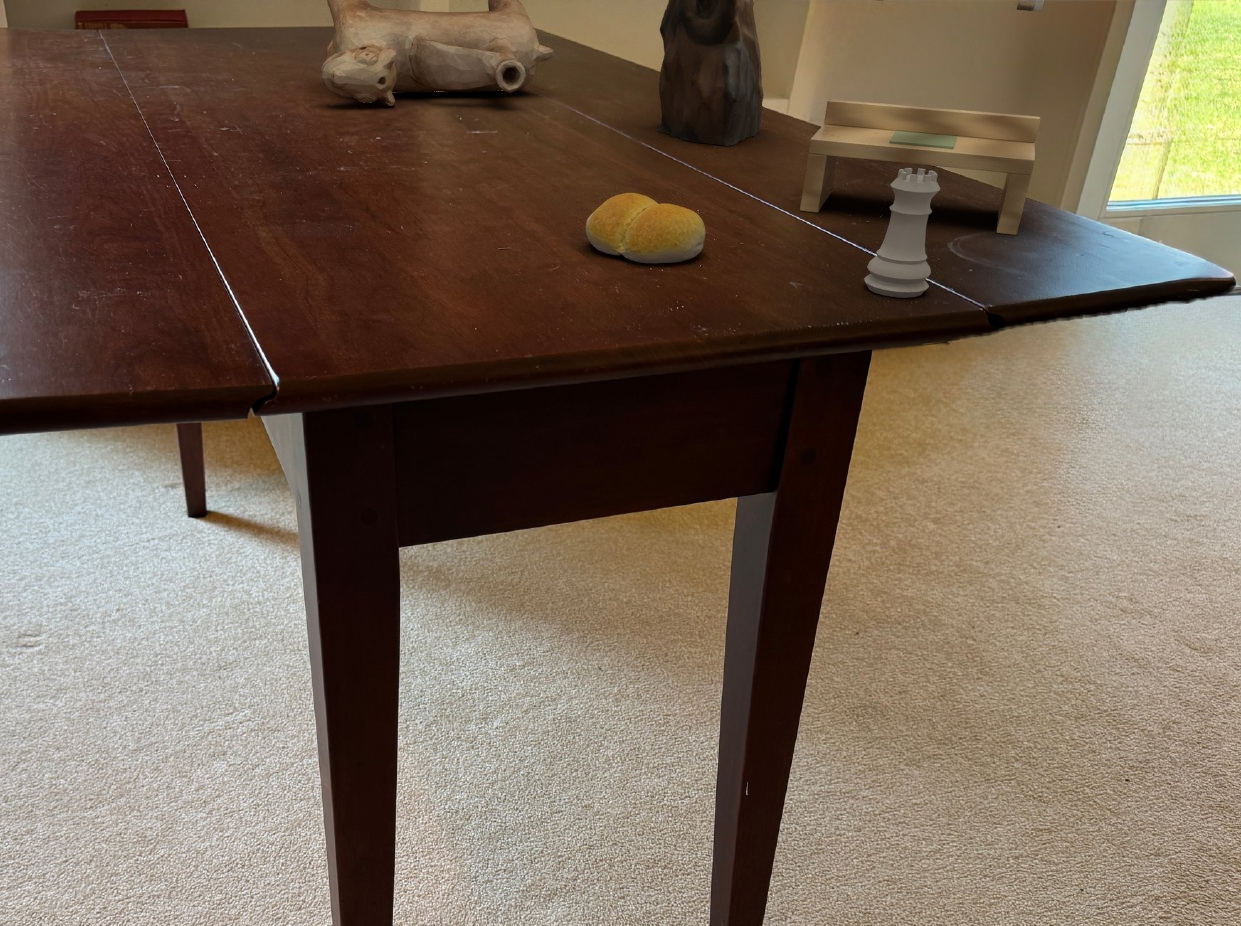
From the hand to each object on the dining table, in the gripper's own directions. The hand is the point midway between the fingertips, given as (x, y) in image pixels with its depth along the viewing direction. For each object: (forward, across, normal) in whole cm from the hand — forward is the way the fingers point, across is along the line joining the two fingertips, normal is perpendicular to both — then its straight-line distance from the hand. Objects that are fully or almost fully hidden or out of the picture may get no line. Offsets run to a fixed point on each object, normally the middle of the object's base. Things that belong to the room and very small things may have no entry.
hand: (948, 5), depth 71 cm
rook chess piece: (+18, 0, 0) cm, 18 cm away
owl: (+18, +25, -53) cm, 61 cm away
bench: (+18, +1, -25) cm, 31 cm away
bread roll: (+18, +19, -2) cm, 26 cm away
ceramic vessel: (+19, +64, -62) cm, 91 cm away
